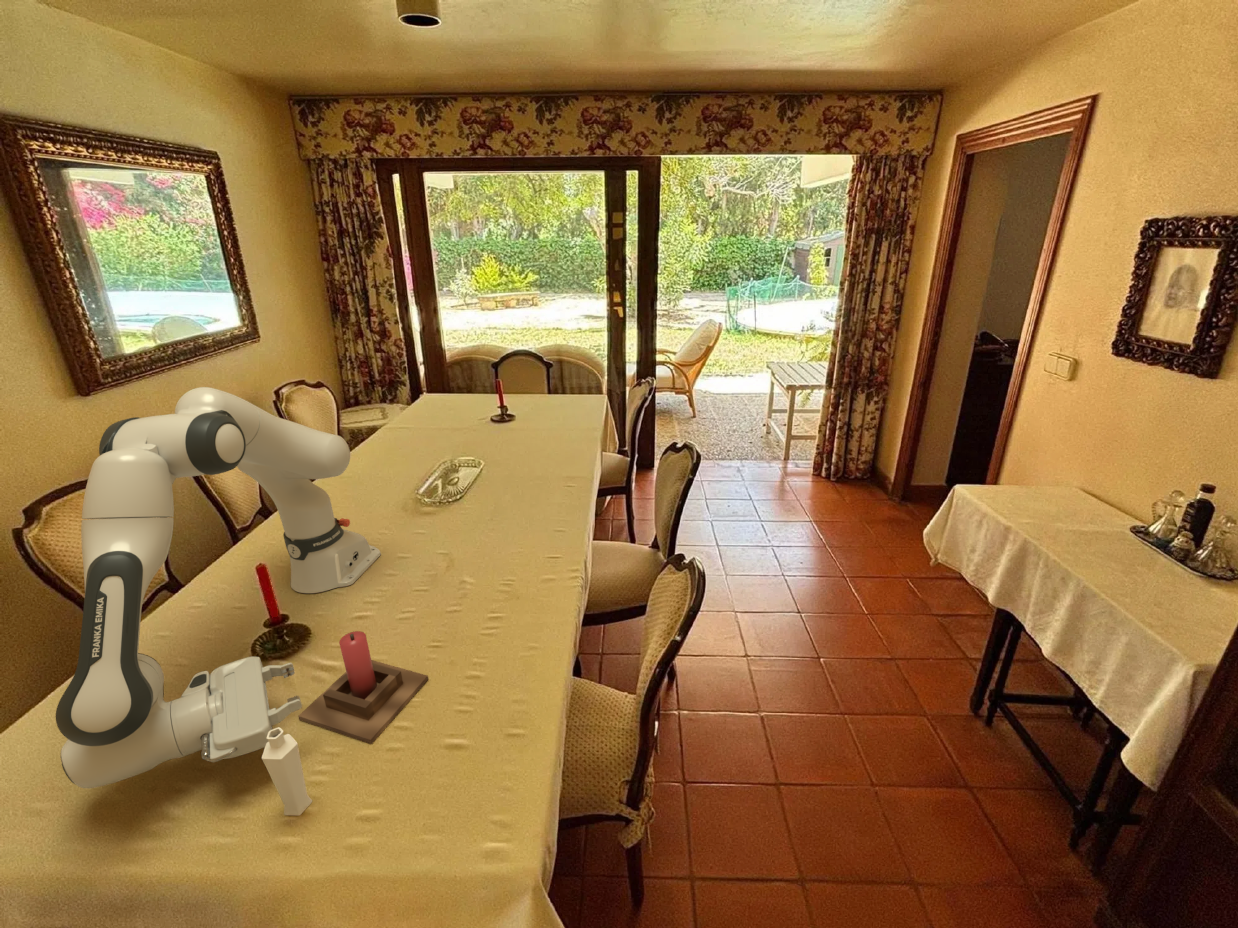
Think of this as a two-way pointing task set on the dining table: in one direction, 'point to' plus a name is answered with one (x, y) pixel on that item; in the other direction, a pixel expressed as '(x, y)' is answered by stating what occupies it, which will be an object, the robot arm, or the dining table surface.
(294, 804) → the perfume bottle
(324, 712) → the walnut stand
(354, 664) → the burgundy candle
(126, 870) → the dining table surface
